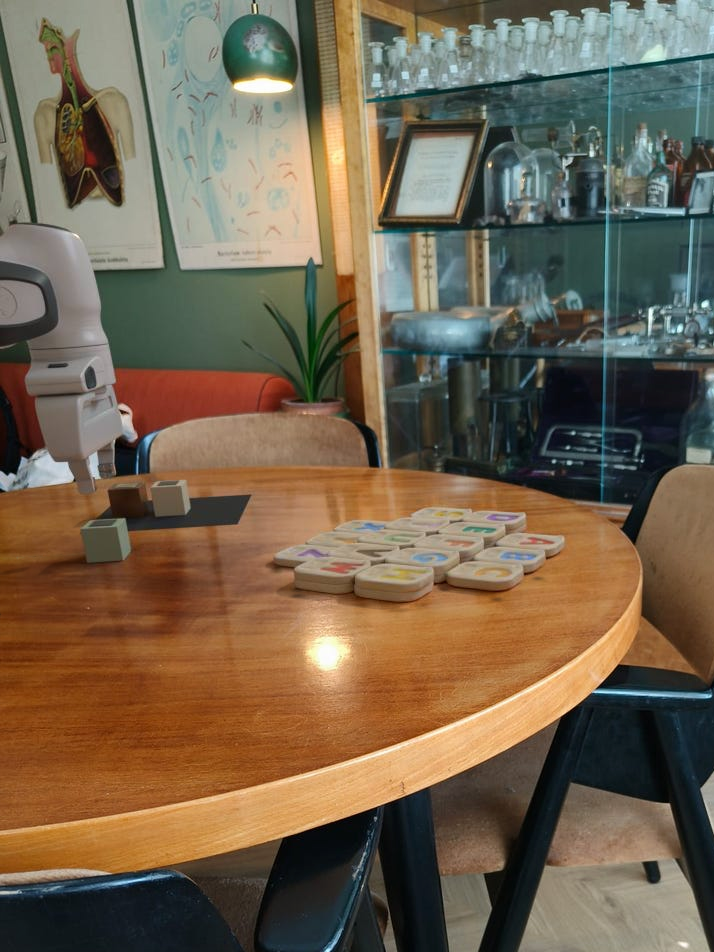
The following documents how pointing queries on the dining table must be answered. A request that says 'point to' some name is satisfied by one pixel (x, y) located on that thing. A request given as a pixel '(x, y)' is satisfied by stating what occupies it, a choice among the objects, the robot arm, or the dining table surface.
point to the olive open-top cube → (105, 540)
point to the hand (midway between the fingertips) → (98, 485)
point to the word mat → (191, 514)
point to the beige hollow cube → (170, 498)
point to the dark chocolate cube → (128, 500)
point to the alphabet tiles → (420, 554)
